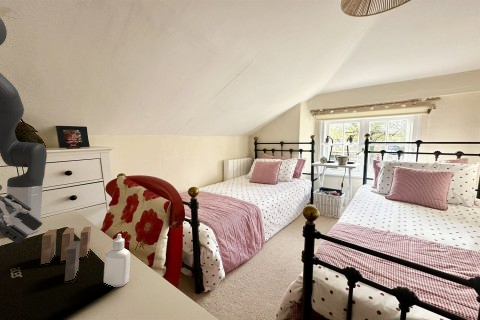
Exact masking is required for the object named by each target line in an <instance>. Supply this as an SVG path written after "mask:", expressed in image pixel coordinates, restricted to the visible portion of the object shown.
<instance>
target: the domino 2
mask: <svg viewBox="0 0 480 320" xmlns="http://www.w3.org/2000/svg"><path fill="white" fill-rule="evenodd" d="M61 236H62V237H61V253H60V262H61V261H63V260H66V253H67V248H68V247H69V245H70V243H71V242H73V241H75V240H74V239H75V227H69V228H65V230H64V231H63V233H62V234H61Z"/></svg>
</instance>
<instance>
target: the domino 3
mask: <svg viewBox="0 0 480 320" xmlns="http://www.w3.org/2000/svg"><path fill="white" fill-rule="evenodd" d="M91 228H92V227H91V226H84V227H83V228H82V229H81V231H80V238H79V239H80V240H79V241H80V251H79V258H80V257H84V256H87V254H88V251H89V252H90V245H91V230H92V229H91ZM88 255H89V254H88ZM87 257H88V256H87Z"/></svg>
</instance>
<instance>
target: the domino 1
mask: <svg viewBox="0 0 480 320" xmlns="http://www.w3.org/2000/svg"><path fill="white" fill-rule="evenodd" d="M56 241H57V228H56V229H54V228H53V229H48V230H47V231H46V232H45V233H44V234H43V235H42V239H41V254H40V255H41V257H40V265H41V264H45V263H51V262H52V261H53V259H54V258H55V257H54V255H55V256H56V243H57V242H56ZM53 257H54V258H53ZM52 258H53V259H52ZM51 260H52V261H51ZM50 261H51V262H50ZM45 265H46V264H45Z"/></svg>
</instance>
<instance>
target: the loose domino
mask: <svg viewBox="0 0 480 320" xmlns="http://www.w3.org/2000/svg"><path fill="white" fill-rule="evenodd" d="M79 253H80V240H74V241H73V242H71V243H70V245H69V247H68V248H67V253H66V262H65V270H64V271H65V272H64V273H65V274H64V282H65V281H68V280H72V279H74V278H75V276H76V277H77V275H76V273H77V271H78V272H79V266H80V264H79V263H80V260H79ZM77 274H78V273H77ZM75 279H76V278H75Z"/></svg>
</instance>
